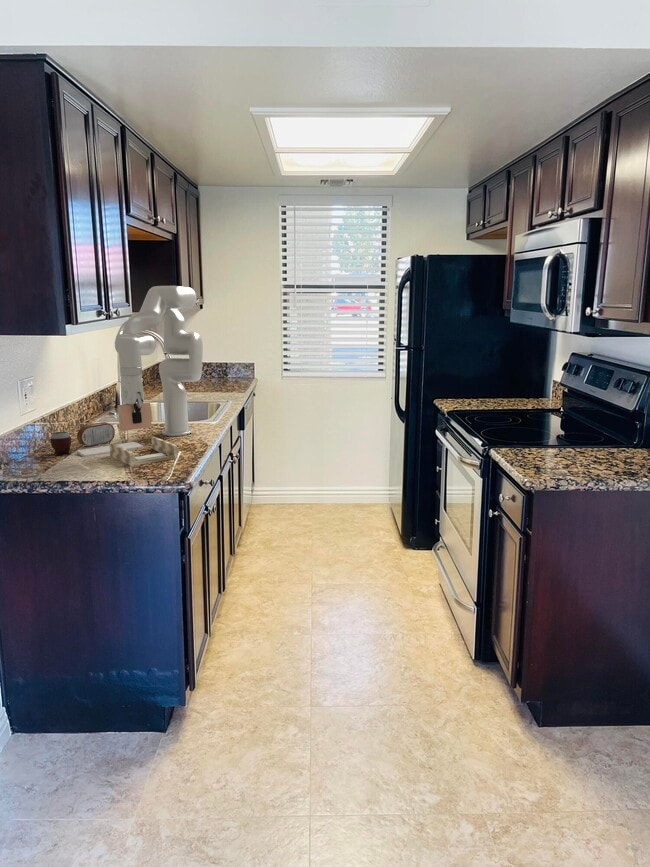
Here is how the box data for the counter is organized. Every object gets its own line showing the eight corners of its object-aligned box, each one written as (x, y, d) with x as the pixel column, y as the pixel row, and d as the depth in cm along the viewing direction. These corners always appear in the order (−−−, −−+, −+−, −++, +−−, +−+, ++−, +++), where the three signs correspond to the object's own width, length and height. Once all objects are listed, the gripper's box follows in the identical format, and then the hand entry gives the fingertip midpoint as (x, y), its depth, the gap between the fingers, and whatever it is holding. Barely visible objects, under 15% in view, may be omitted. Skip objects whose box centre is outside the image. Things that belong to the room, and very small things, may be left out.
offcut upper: (134, 460, 216) (134, 457, 216) (161, 456, 222) (161, 452, 222) (138, 462, 213) (138, 459, 213) (165, 458, 219) (165, 454, 219)
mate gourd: (76, 452, 231) (72, 412, 228) (63, 457, 224) (59, 416, 220) (58, 451, 233) (54, 412, 229) (45, 456, 225) (40, 416, 222)
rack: (110, 456, 224) (109, 443, 223) (154, 449, 234) (153, 436, 233) (131, 467, 209) (130, 452, 208) (177, 458, 220) (176, 445, 219)
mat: (77, 453, 229) (76, 450, 229) (134, 444, 243) (134, 441, 243) (85, 457, 222) (85, 455, 222) (143, 448, 236) (143, 445, 236)
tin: (112, 440, 250) (110, 420, 248) (116, 441, 248) (115, 421, 246) (77, 447, 239) (75, 426, 237) (82, 448, 237) (79, 427, 235)
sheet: (119, 430, 222) (117, 405, 220) (148, 425, 229) (147, 401, 226) (122, 431, 220) (120, 406, 218) (151, 426, 227) (149, 402, 225)
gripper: (112, 370, 223) (116, 420, 228) (129, 375, 211) (134, 427, 215) (132, 368, 228) (136, 417, 232) (150, 373, 216) (154, 424, 220)
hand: (135, 422), depth 224 cm, fingers closed on sheet, 2 cm apart
